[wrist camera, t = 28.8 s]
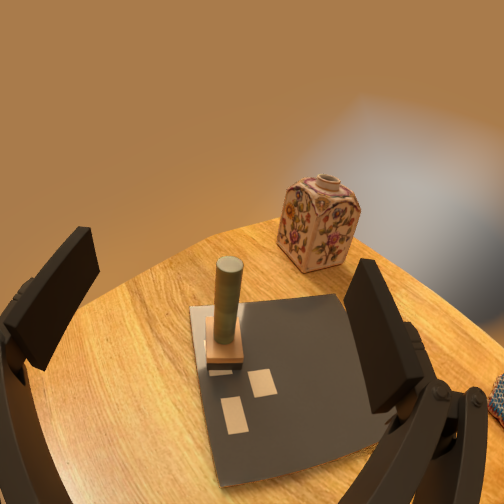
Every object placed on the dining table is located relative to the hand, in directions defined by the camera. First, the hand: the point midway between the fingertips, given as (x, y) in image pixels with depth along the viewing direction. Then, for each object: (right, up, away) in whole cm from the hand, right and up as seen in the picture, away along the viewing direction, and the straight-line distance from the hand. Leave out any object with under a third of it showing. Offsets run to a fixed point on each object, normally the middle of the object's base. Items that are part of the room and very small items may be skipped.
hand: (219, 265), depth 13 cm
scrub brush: (-3, -13, +25) cm, 28 cm away
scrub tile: (+7, -16, +24) cm, 30 cm away
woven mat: (+48, -28, +16) cm, 58 cm away
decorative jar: (+14, 0, +49) cm, 51 cm away
